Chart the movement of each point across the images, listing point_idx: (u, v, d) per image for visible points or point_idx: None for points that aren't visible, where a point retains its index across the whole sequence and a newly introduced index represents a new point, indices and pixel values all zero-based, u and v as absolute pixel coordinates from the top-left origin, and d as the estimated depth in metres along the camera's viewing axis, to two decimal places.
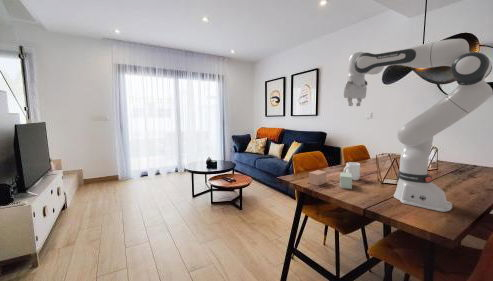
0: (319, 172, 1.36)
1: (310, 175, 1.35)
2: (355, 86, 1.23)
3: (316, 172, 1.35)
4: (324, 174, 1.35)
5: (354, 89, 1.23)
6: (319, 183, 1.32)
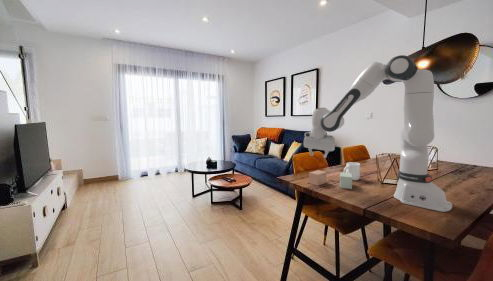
0: (319, 172, 1.36)
1: (310, 175, 1.35)
2: None
3: (316, 172, 1.35)
4: (324, 174, 1.35)
5: None
6: (319, 183, 1.32)
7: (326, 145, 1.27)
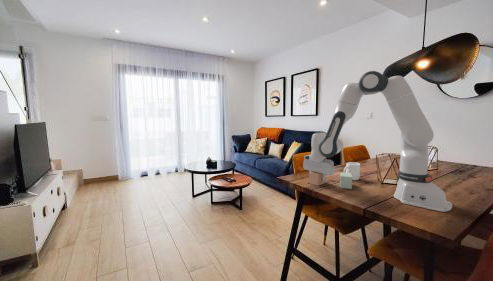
0: None
1: (310, 175, 1.35)
2: None
3: (316, 172, 1.35)
4: None
5: None
6: (319, 183, 1.32)
7: (325, 169, 1.29)
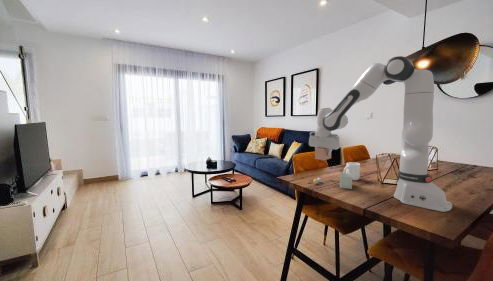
0: None
1: (316, 150, 1.39)
2: None
3: (322, 148, 1.39)
4: None
5: None
6: (325, 158, 1.37)
7: (331, 144, 1.33)
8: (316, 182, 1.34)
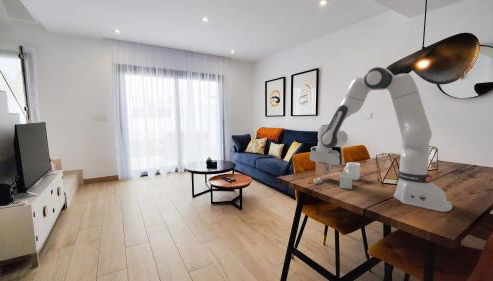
0: (325, 163, 1.43)
1: (317, 165, 1.42)
2: None
3: (322, 163, 1.43)
4: None
5: None
6: (325, 173, 1.40)
7: (331, 159, 1.36)
8: (316, 182, 1.34)
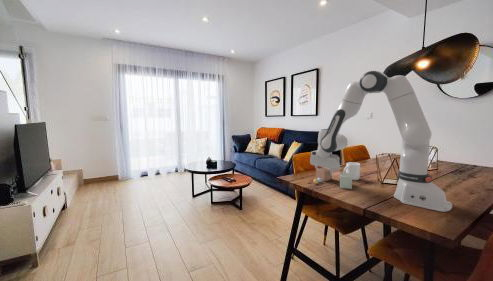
0: (325, 169, 1.43)
1: (317, 171, 1.42)
2: None
3: (322, 169, 1.43)
4: (330, 171, 1.43)
5: None
6: (325, 179, 1.40)
7: (332, 164, 1.37)
8: (316, 182, 1.34)
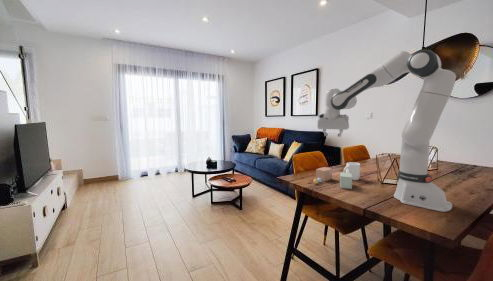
0: (325, 169, 1.43)
1: (317, 171, 1.42)
2: None
3: (322, 169, 1.43)
4: (330, 171, 1.43)
5: None
6: (325, 179, 1.40)
7: (340, 124, 1.33)
8: (316, 182, 1.34)
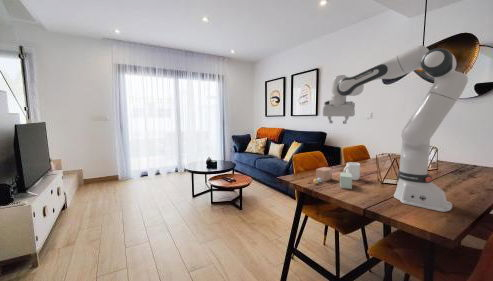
0: (325, 169, 1.43)
1: (317, 171, 1.42)
2: None
3: (322, 169, 1.43)
4: (330, 171, 1.43)
5: None
6: (325, 179, 1.40)
7: (346, 111, 1.32)
8: (316, 182, 1.34)
